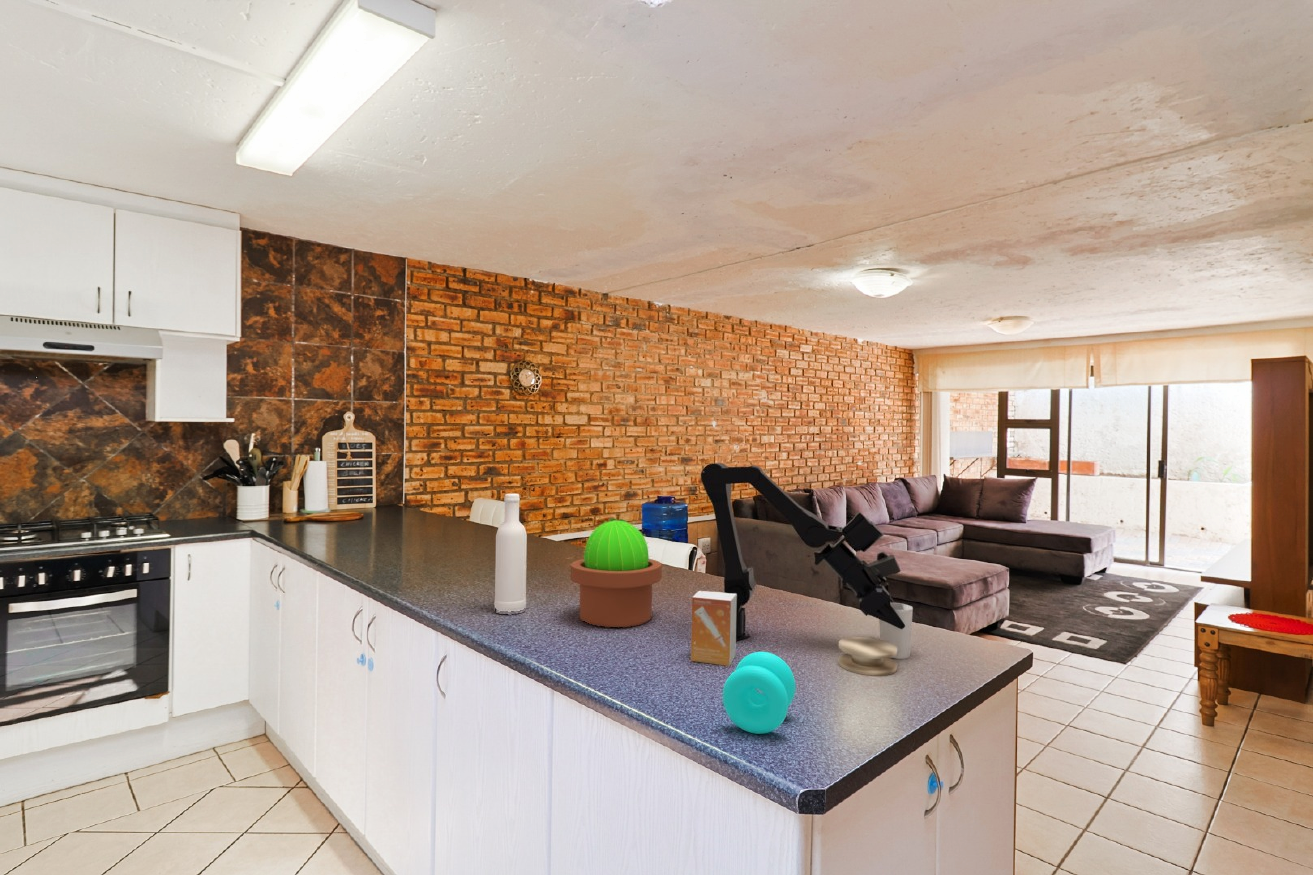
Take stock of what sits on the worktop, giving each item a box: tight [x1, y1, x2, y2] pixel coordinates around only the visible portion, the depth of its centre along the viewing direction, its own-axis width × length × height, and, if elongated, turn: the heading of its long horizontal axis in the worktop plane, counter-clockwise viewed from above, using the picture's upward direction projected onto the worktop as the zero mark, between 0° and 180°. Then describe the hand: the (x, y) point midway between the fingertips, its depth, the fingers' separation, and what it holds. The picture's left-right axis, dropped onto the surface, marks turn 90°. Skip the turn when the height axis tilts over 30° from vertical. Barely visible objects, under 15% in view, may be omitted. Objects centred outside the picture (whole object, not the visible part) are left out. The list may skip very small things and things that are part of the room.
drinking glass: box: [878, 602, 914, 660], centre depth 134 cm, size 7×7×10 cm
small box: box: [690, 590, 737, 667], centre depth 130 cm, size 8×6×13 cm
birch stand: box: [838, 636, 898, 677], centre depth 127 cm, size 11×11×4 cm
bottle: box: [494, 493, 528, 612], centre depth 164 cm, size 8×8×30 cm
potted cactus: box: [570, 518, 663, 629], centre depth 159 cm, size 22×22×25 cm
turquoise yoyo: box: [722, 651, 797, 735], centre depth 100 cm, size 10×10×10 cm
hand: (902, 623), depth 134 cm, fingers open, 7 cm apart
